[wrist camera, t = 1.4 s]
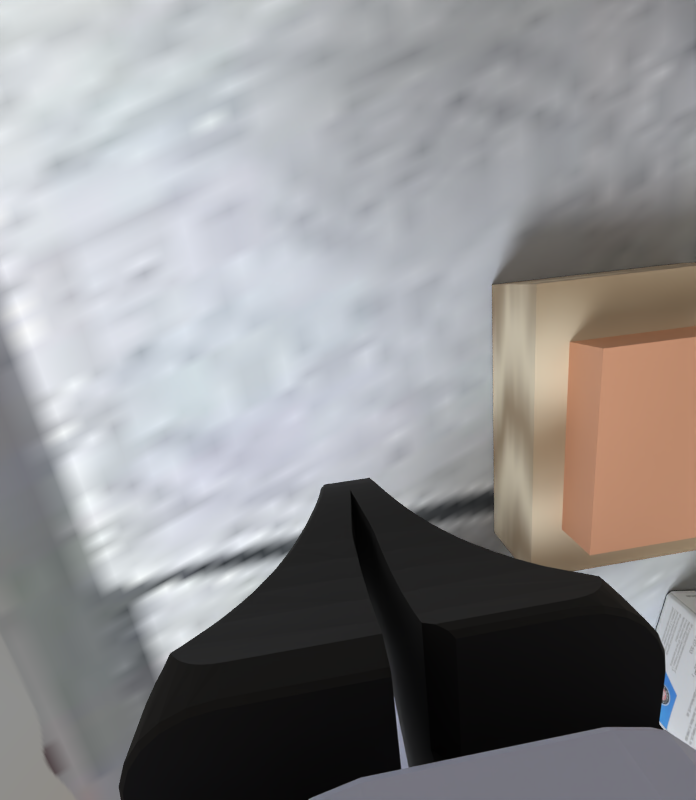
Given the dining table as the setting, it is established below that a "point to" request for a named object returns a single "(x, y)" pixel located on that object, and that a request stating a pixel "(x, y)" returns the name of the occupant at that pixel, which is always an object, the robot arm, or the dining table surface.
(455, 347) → the dining table surface
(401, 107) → the dining table surface
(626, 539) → the block
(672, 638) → the ink box
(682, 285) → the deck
